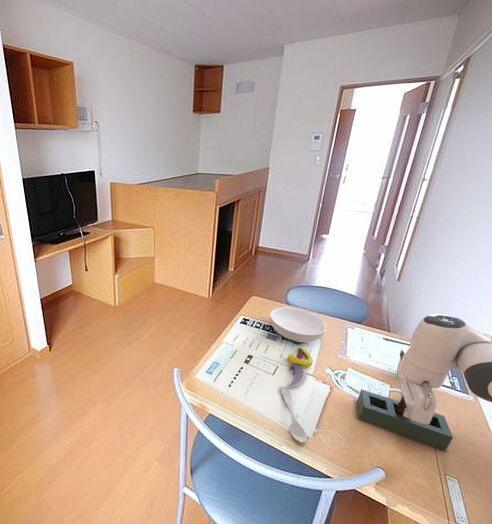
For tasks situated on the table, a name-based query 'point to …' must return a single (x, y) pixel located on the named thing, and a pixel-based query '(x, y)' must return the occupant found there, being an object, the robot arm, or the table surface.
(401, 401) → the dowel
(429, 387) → the robot arm
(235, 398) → the table surface
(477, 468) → the table surface
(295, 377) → the knife
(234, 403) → the table surface
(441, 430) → the peg block
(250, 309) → the table surface
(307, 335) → the serving bowl
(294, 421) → the spoon
